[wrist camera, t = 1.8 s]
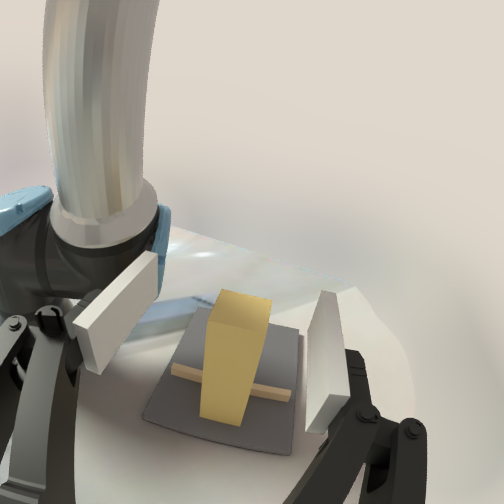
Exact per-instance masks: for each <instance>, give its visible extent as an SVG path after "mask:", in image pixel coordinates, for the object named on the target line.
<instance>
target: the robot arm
mask: <svg viewBox="0 0 504 504" xmlns="http://www.w3.org/2000/svg"><path fill="white" fill-rule="evenodd" d="M158 5H159V0H46V7H45V17H44V30H43V92H44V106H45V117H46V125H47V134H48V141H49V148H50V154H51V160H52V165H53V171H54V176H55V181H56V186H57V190H58V195H57V197H56V198H55V200H54V201H53V197H54V195H53V193H52V190H51V189H50V187H46V186H34V187H28V188H24V189H20V190H17V191H14V192H11V193H8V194H6V195H3V196H1V197H0V464H1V461H2V458H3V455H4V452H5V450H6V447H7V444H8V442H9V439H10V437H11V434H12V432H13V430H14V432H13V439H12V446H11V455H10V465H9V477H8V481H7V482H6V483H3V484H1V486H0V504H76V502H75V483H74V441H75V422H76V408H77V398H78V388H79V380H80V368H79V365H80V364H81V363H82V362H83V361H84V364H85V367H86V369H87V370H89V371H91V372H93V373H96V374H98V375H101V373H102V372H103V370H104V369H105V368H106V366H107V365H108V363H109V362H110V360H111V359H112V358H113V356H114V355H115V353H116V352H117V350H118V349H119V348H120V346H121V345H122V343H123V342H124V341H125V339H126V338H127V336H128V335H129V334H130V332H131V331H132V330H133V328H134V327H135V325H136V324H137V323H138V321H139V320H140V319H141V317H142V316H143V315H144V313H145V312H146V311H147V309H148V308H149V307H150V305H151V304H152V303H153V301H155V300H156V299H157V298H158V296H159V294H160V291H161V286H162V281H163V275H164V268H165V258H166V252H167V248H168V240H169V232H170V222H171V211H170V209H169V208H168V207H167V206H163V205H162V204H158V201H157V195H156V192H155V190H154V188H153V186H152V185H151V184H150V183H149V182H148V181H147V180H145V179H144V178H143V137H144V117H145V116H144V115H145V103H146V90H147V79H148V71H149V62H150V54H151V46H152V40H153V33H154V27H155V21H156V16H157V10H158ZM69 299H80V300H81V301H79V302H78V303H77V305H75V306H73V305H72V303H71V302H70V300H69ZM365 369H366V367H365V362H364V359H363V357H362V356H361V354H360V353H359V351H355V350H349V349H345V348H344V341H343V334H342V327H341V321H340V315H339V308H338V303H337V297H336V293H332V292H327V291H323V290H322V291H321V294H320V297H319V300H318V303H317V306H316V309H315V312H314V314H313V317H312V320H311V323H310V326H309V328H308V354H307V402H306V427H305V432H307V433H316V434H324V433H325V431H326V430H327V429H328V438H327V439H326V440H325V442H324V443H323V444H322V445H321V446H320V448H319V449H320V450H319V452H318V453H317V455H316V456H315V458H314V459H313V461H312V463H311V464H310V466H309V467H308V469H307V470H306V472H305V473H304V475H303V476H302V478H301V479H300V480H299V482H298V483H297V485H296V486H295V488H294V489H293V490H292V492H291V493H290V494H289V496H288V497H287V498H286V500H285V501H284V502H283V504H343V502H344V500H345V499H346V497H347V495H348V493H349V491H350V489H351V487H352V485H353V483H354V481H355V479H356V477H357V475H358V473H359V471H360V469H361V467H362V465H363V463H366V467H365V473H364V478H363V484H362V489H361V494H360V498H359V503H358V504H425V498H426V481H427V432H426V428H425V427H424V425H423V423H421V422H420V421H419V420H417V419H414V418H406V419H404V420H402V421H401V423H397V422H394V421H391V420H388V419H385V418H383V417H381V415H380V412H379V411H378V409H377V408H376V407H375V406H373V405H372V402H371V396H370V390H369V384H368V378H367V373H366V370H365Z"/></svg>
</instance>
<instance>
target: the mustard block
mask: <svg viewBox="0 0 504 504" xmlns="http://www.w3.org/2000/svg"><path fill="white" fill-rule="evenodd" d="M271 305H272V300H268V299H264V298H259V297H255V296H250V295H246V294H241V293H237V292H233V291H228V290H224V289H221V291H220V294H219V296H218V298H217V300H216V302H215V305H214V307H213V309H212V311H211V313H210V316H209V318H208V320H207V330H206V341H205V352H204V364H203V376H202V389H201V402H200V417H202V418H206V419H210V420H214V421H218V422H222V423H226V424H230V425H234V426H239V427H240V425H241V422H242V418H243V415H244V412H245V408H246V405H247V402H248V398H249V395H250V391H251V388H252V384H253V381H254V377H255V374H256V370H257V367H258V363H259V360H260V356H261V352H262V349H263V345H264V341H265V338H266V334H267V328H268V323H269V317H270V311H271Z"/></svg>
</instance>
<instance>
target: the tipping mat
mask: <svg viewBox="0 0 504 504" xmlns="http://www.w3.org/2000/svg"><path fill="white" fill-rule="evenodd" d="M211 311H212V310H210V309H206V308H202V307H198V308H197V310H196V312H195V314H194V316H193V318H192V320H191V321H190V323H189V325H188V327H187V329H186V331H185V333H184V335H183V337H182V339H181V341H180V343H179V345H178V346H177V348H176V350H175V352H174V354H173V356H172V358H171V360H170V362H169V364H168V366H167V368H166V370H165V372H164V374H163V376H162V378H161V380H160V382H159V384H158V386H157V388H156V390H155V392H154V394H153V396H152V398H151V399H150V401H149V403H148V405H147V408H146V410H145V412H144V414H143V416H142V417H143V419H144V420H147V421H150V422H152V423H155V424H158V425H161V426H164V427H167V428H170V429H173V430H176V431H179V432H182V433H186V434H189V435H192V436H196V437H199V438H203V439H207V440H211V441H215V442H219V443H223V444H227V445H232V446H236V447H241V448H246V449H251V450H257V451H262V452H268V453H275V454H282V455H290V454H291V448H292V437H293V425H294V411H295V397H296V381H297V363H298V340H299V329H294V328H289V327H284V326H279V325H275V324H270V323H268V328H267V334H266V338H265V341H264V345H263V349H262V352H261V356H260V360H259V363H258V367H257V370H256V374H255V377H254V381H253V384H252V388H251V391H250V395H249V398H248V402H247V405H246V408H245V412H244V415H243V418H242V422H241V425H240V427H239V426H234V425H230V424H226V423H222V422H218V421H214V420H210V419H206V418H202V417H200V402H201V389H202V376H203V364H204V352H205V341H206V330H207V320H208V318H209V316H210V313H211Z"/></svg>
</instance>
